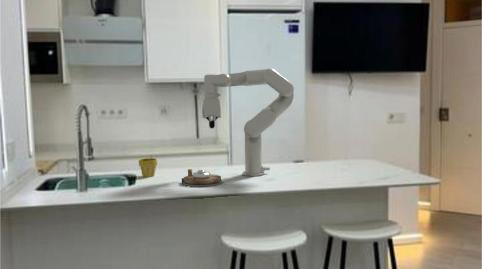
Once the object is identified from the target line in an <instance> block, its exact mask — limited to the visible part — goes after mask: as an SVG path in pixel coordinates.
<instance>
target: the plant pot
mask: <svg viewBox="0 0 482 269" xmlns="http://www.w3.org/2000/svg"><path fill="white" fill-rule="evenodd" d="M157 165H158V159H157V158H156V157H155V158H152V157H149V158H148V157H146V158H140V159H139V160H138V166H139V167H140V170H141V175H142V177H143V178H151V177H152V178H153V177H154V176H155V174H156V169H157Z"/></svg>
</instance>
